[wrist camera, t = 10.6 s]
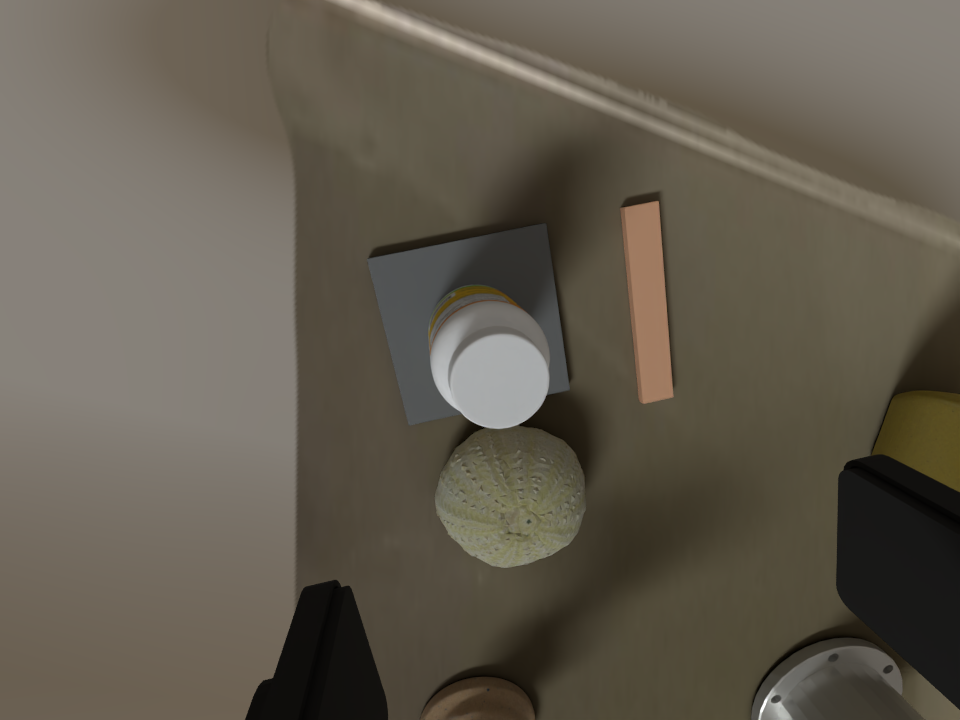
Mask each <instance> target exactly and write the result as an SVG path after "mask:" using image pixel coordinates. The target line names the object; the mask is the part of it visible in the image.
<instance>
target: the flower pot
mask: <svg viewBox="0 0 960 720" xmlns="http://www.w3.org/2000/svg"><path fill="white" fill-rule="evenodd" d="M877 454H883V455H886V456H889V457H891V458H893V459H895V460H897V461H899V462H901V463H903V464H905V465H907V466H909V467H911V468H913V469H915V470H917V471H919V472H921V473H923V474H925V475H927V476H929V477H931V478H933V479H935V480H937V481H939V482H941V483H942V484H944V485H946V486H948V487H950V488H952V489H954V490H956V491H958V492H960V394H956V393H948V392H940V391H923V390H921V391H909V392H904V393H900V394H897V395H895V396H894V397H893V398H892V400H891V403H890V406H889V408H888V411H887V414H886V417H885V420H884V422H883V425H882V428H881V431H880V433H879V436H878V438H877V441H876V444H875V446H874V449H873V452H872V455H877ZM872 455H871V456H872Z"/></svg>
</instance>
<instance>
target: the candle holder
mask: <svg viewBox="0 0 960 720" xmlns="http://www.w3.org/2000/svg"><path fill="white" fill-rule="evenodd" d="M420 720H535V713H534V709H533V706H532V703H531V701H530V699H529V698H528V696H527V695H526V693H525V692H524V691H523V690H522V689H521V688H519V687H518V686H517V685H515V684H513V683H511V682H510V681H507V680H504V679H501V678H496V677H473V678H468V679H464V680H461V681H458V682H455V683H453V684H451V685H449V686H447V687H445V688H444V689H442V690H441V691H439V692H438V693H437V694H436V695H435V696H434V697H433V698H432V699H431V700H430V701H429V702H428V704H427V705H426V707H425V708H424V710H423V712H422V715H421V717H420Z"/></svg>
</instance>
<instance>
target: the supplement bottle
mask: <svg viewBox="0 0 960 720" xmlns="http://www.w3.org/2000/svg"><path fill="white" fill-rule="evenodd" d="M428 338H429V350H430V363H431V370H432V375H433V379H434V382H435V384H436V387H437V388H438V390H439V392H440V394H441V395H442V396H443V398H444V399H445V400H446V401H447V402H448V403H449V404H450V405H451V406H453V407H454V408H455V409H457V410H458V411H460V412H461V413H462V414H463V415H464V416H465V417H466V418H467V419H469V420H470V421H472V422H473V423H475V424H477V425H480V426H483V427H487V428H494V429H503V428H509V427H513V426H516V425H518V424H520V423H522V422H524V421H526V420H527V419H529V418H530V417H531V416H532V415H533V414H534V413H535V412H536V411H537V410H538V409H539V408H540V406H541V405H542V403H543V401H544V400H545V398H546V395H547V392H548V388H549V380H550V376H549V364H550V353H549V346H548V343H547V339H546V337H545V335H544V333H543V331H542V329H541V328H540V326H539V325H538V324H537V322H536V321H535V320H534V319H533V318H532V317H531V316H530V315H529V314H528V313H527V312H526V311H524V310H523V309H522V308H521V307H520V306H519V305H517V304H516V303H515V302H514V301H513V300H512V299H511V298H509V297H508V296H507V295H506V294H504V293H503V292H501V291H499V290H497V289H495V288H492V287H489V286H485V285H467V286H463V287H460V288H457V289H455V290H453V291H452V292H450V293H449V294H447V295H446V296H445V297H444V298H443V299H441V301H440V302H439V303H438V304H437V306H436V307H435V309H434V311H433V313H432V315H431V318H430V322H429V328H428Z"/></svg>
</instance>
